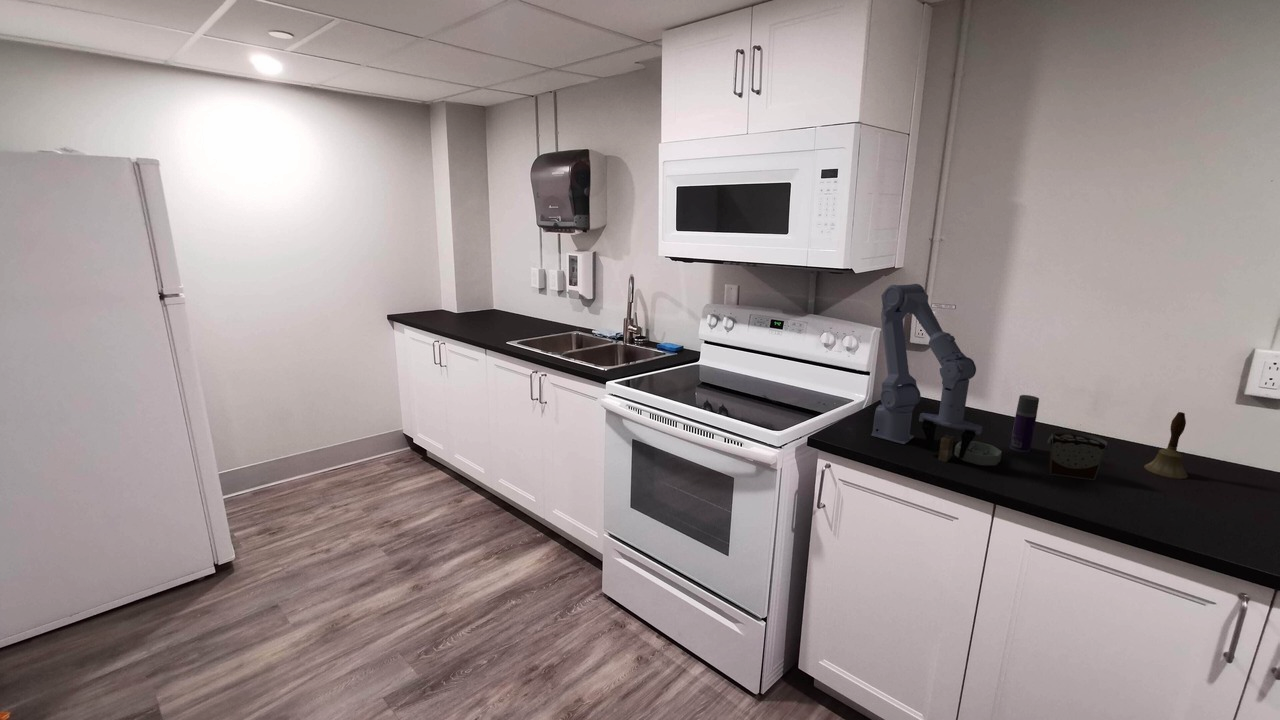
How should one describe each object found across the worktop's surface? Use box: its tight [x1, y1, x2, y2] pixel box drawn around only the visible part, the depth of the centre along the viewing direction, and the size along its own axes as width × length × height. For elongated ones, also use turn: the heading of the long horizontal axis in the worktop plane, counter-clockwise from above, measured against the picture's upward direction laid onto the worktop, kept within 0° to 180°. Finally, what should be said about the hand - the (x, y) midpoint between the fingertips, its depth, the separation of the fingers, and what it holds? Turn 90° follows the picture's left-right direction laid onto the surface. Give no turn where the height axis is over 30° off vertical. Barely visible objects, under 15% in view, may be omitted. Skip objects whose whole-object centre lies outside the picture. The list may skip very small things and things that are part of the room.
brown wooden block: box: [937, 434, 955, 463], centre depth 151 cm, size 2×4×6 cm, turn 137°
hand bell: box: [1144, 411, 1189, 480], centre depth 144 cm, size 8×8×16 cm
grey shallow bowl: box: [954, 440, 1003, 466], centre depth 153 cm, size 10×10×3 cm
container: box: [1009, 394, 1040, 453], centre depth 157 cm, size 5×5×15 cm
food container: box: [1047, 430, 1110, 481], centre depth 144 cm, size 12×6×10 cm, turn 71°
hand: (945, 452), depth 152 cm, fingers open, 7 cm apart
